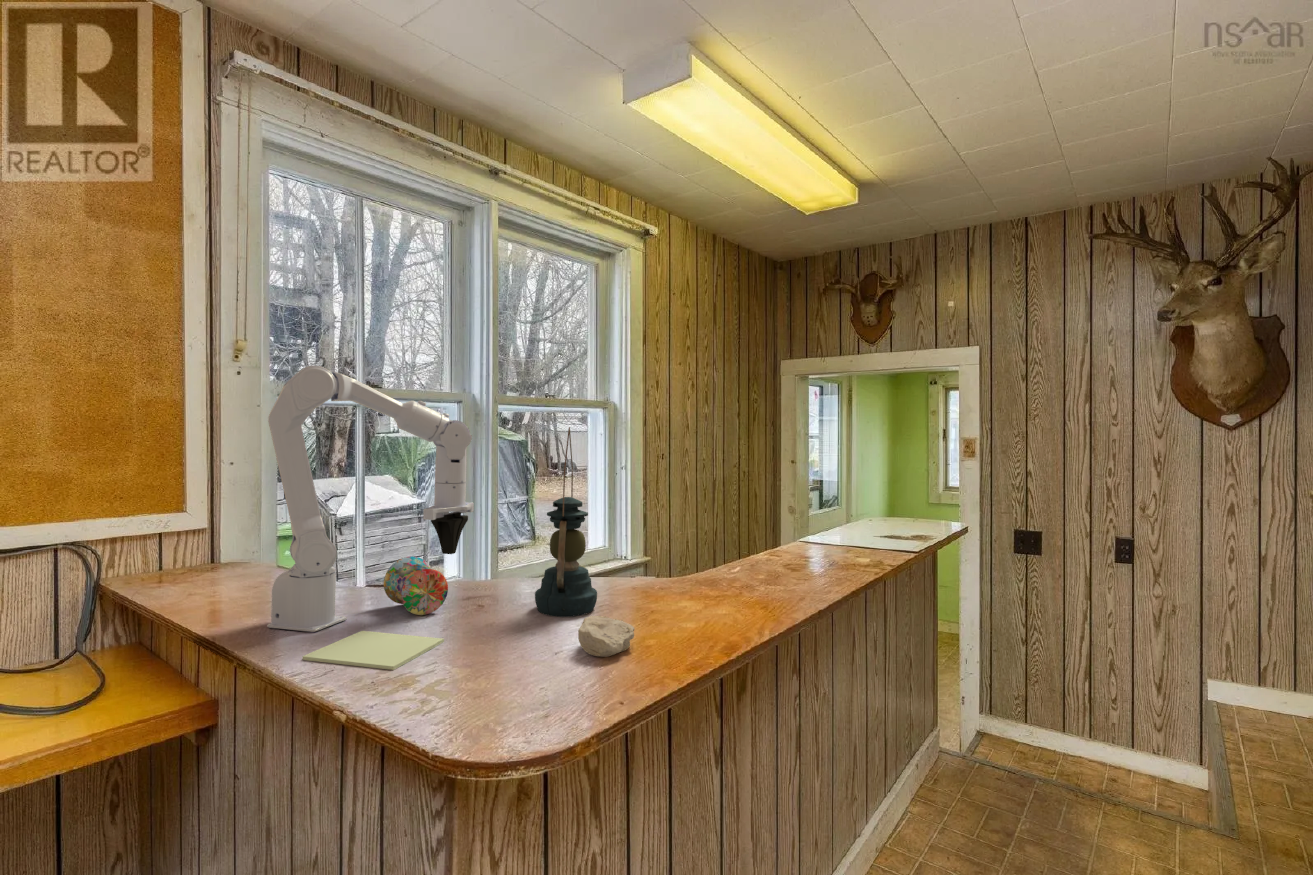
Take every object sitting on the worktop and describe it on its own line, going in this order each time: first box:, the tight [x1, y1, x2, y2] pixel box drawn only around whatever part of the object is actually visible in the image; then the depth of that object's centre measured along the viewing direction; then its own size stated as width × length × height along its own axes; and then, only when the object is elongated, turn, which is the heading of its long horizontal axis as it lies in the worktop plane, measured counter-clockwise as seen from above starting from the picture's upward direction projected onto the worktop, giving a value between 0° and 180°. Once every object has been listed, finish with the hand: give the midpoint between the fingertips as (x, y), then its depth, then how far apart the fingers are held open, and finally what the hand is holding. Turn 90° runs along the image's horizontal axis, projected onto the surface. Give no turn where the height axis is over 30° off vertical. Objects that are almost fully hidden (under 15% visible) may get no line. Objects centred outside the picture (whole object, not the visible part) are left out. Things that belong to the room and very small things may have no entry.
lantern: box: [534, 426, 598, 618], centre depth 124 cm, size 14×12×35 cm
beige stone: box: [577, 615, 635, 658], centre depth 101 cm, size 9×6×10 cm
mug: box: [383, 556, 449, 616], centre depth 122 cm, size 12×9×11 cm
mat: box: [302, 630, 445, 671], centre depth 99 cm, size 15×13×1 cm
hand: (448, 553), depth 124 cm, fingers closed
